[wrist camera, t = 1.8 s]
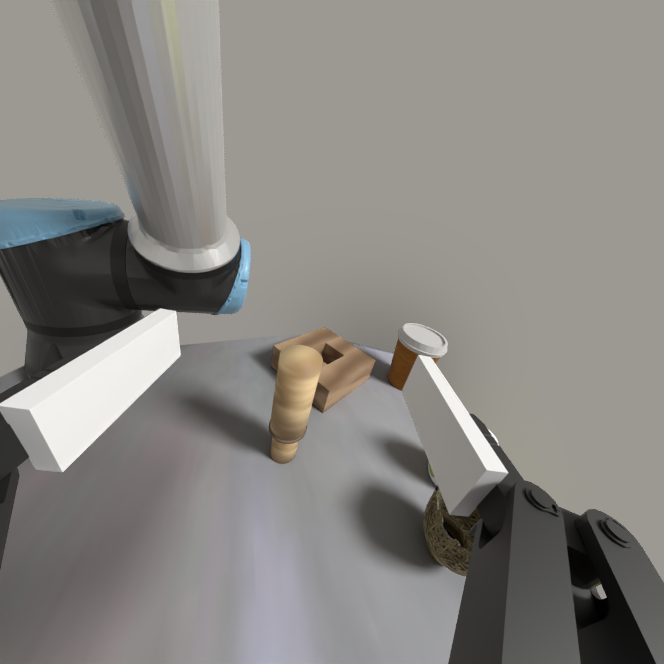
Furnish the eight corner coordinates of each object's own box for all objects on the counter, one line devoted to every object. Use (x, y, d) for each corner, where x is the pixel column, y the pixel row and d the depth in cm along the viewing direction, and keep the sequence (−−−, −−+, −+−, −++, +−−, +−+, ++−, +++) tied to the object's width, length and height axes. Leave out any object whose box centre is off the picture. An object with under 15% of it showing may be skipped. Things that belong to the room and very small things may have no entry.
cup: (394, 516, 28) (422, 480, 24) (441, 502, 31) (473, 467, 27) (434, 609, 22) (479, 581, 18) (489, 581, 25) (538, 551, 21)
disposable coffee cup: (411, 405, 45) (439, 355, 39) (372, 376, 50) (391, 328, 44) (430, 385, 52) (456, 340, 46) (394, 361, 57) (413, 318, 51)
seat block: (271, 366, 46) (273, 345, 43) (320, 345, 56) (324, 326, 53) (322, 412, 39) (329, 390, 36) (368, 378, 49) (375, 360, 46)
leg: (258, 449, 31) (268, 352, 23) (285, 430, 35) (302, 339, 27) (280, 476, 29) (299, 379, 21) (307, 452, 32) (332, 361, 24)
